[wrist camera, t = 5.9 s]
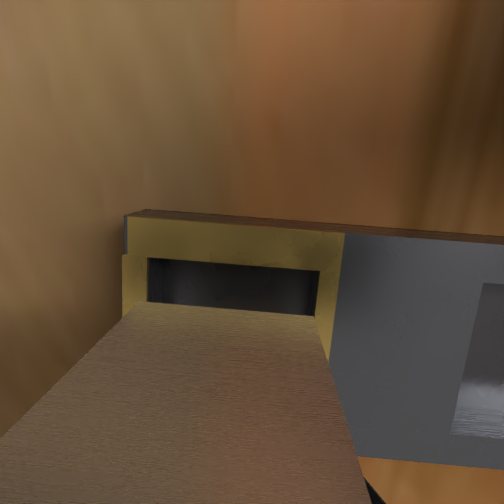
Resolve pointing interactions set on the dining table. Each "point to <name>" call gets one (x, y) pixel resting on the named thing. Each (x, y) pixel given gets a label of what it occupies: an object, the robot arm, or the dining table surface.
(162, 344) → the square slider block
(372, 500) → the robot arm
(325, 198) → the dining table surface
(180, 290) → the grey socket board
